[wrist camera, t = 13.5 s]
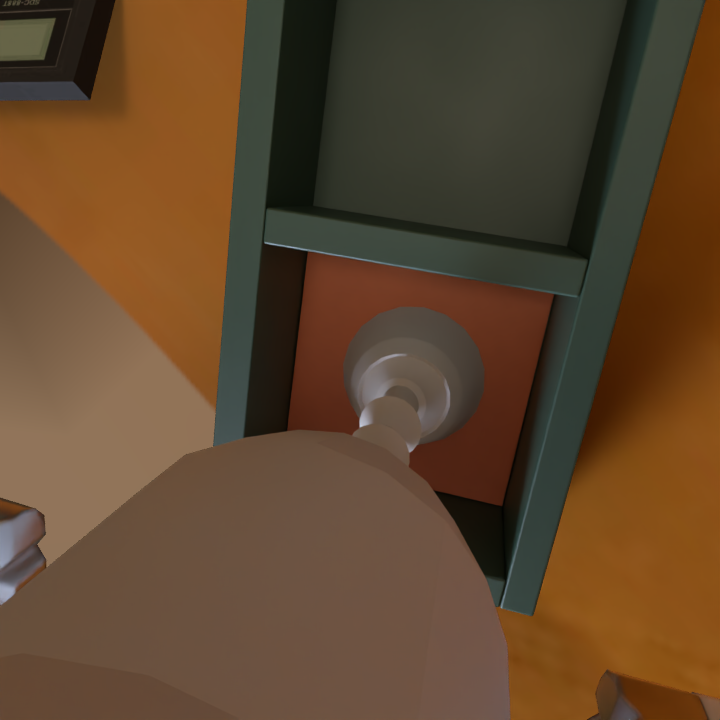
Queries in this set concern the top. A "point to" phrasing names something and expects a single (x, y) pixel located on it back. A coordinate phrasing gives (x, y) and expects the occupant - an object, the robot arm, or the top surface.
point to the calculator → (51, 47)
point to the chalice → (281, 571)
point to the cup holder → (447, 225)
